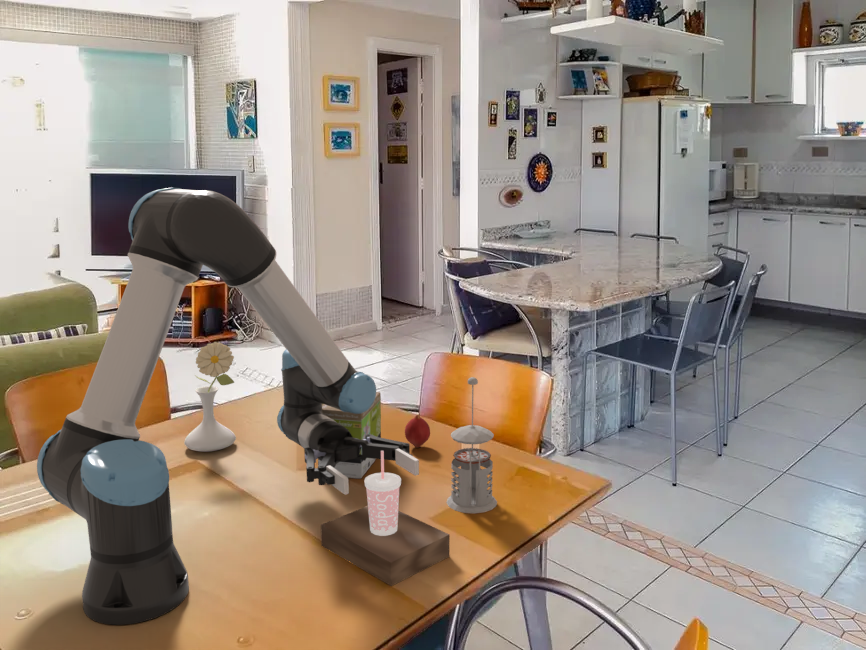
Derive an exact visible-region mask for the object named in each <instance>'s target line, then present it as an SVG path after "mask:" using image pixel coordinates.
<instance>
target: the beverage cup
mask: <svg viewBox="0 0 866 650" xmlns="http://www.w3.org/2000/svg"><path fill="white" fill-rule="evenodd" d="M380 470H381V471H380V472H375V473H372V474H369V475H367V476H366V477H365V478H364V480H363V481H364V487H365V488H366V489H365V490H366V497H367V498H366V501H367V506H368V512H369V523H370V531H371V533H373V534H375V535H379V536H387V535H391V534H394V533H395V532H396V531H397V527H398V511H399V502H400V501H399V500H400V487H401V484H402V478H401V476H400V475H398V474H396V473H392V472H385V460H384V451H381V459H380Z"/></svg>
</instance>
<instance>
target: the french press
mask: <svg viewBox="0 0 866 650" xmlns="http://www.w3.org/2000/svg"><path fill="white" fill-rule="evenodd" d="M478 383H479V381H478V378H477V377H473V376H471V377H469V378H468V379H467V384H468V385H471V424H469V425H468V424H467V425H465V426H460V427H458V428H456V429H455V430H453V431H452V432H451V434H450V437H451V438H452V440H453V441H455V442H456V443H459V444H465V445H471V447H467V448H464V447H463V448H461V449H457V450H456V451H455V452H453V457H454V458H452V461H451V464H450V465H451V467H450V468H451V469H452V471H451V476H452V477H451V480H450V481H451V482H452V483H451V490H450V491H451V492H450V493H451V494H450V496H448V497H447V500H446V504H447V506H448V507H449V508H450V509H452V510H454V511H455V512H456V511H457V512H458V513H459V512H460V513H463V514H480V513H486V512H489V511H492V510H493V509H494V508H496V507H497V504H498V501H497V499H496V498H495V496H493V467H494V466H493V464H494V463H493V460H492V459H491V458H492V457H491V456H492V454H491V453H490V452H489V451H487V450H486V449H482V448H477V447H474V445H482V444H484V443H488V442H490V441H491V440H492V439H493V438H494V435H495V434H494V433H493V431H491V430H489V429H487V428H485V427H483V426H480V425H474V386H475V385H478ZM482 467H483V468H482ZM456 481H457V482H456ZM488 482H489V483H488Z"/></svg>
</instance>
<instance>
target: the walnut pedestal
mask: <svg viewBox="0 0 866 650" xmlns="http://www.w3.org/2000/svg"><path fill="white" fill-rule="evenodd" d="M320 538H321V539H320V540H321V547H322V546H323V548H324V549H325V550H327V551H329V550H330V552H331V553H333V554H335V555H336V554H337V555H336V556H338V555H339V556H338V557H340V558H342V559H343V558H344V560H345V559H346V560H345V561H347V560H348V561H347V562H349V561H350V562H351V563H350V562H349V563H350V564H352V563H353V564H352V565H354V566H355V565H356V566H355V567H358V569H359V568H360V569H361V570H363V571H364V572H366V573H368V574H369V575H372V576H373V577H375V578H377V579H378V580H380V581H382V582H383V583H384V584H386V585H389V587H392V586H394V585H396V584H398V583H400V582H402V581H403V580H406V579H408V578H410V577H412V576H414V575H416V574H417V573H420V572H422V571H424V570H426V569H427V568H430V567H431V566H434V565H436V564H438V563H439V562H442V561H443V560H445V559H447V558H449V557H450V534H449V533H448V532H445V531H443V530H440V529H438V528H437V527H434V526H432V525H431V524H428V523H426V522H423V521H422V520H419V519H417V518H415V517H413V516H412V515H409V514H406V513H404V512H402V511H400V510H398V527H397V531H396V532H395V533H394V534H391V535H387V536H379V535H375V534H373V533H371V531H370V523H369V512H368V505H365V506H363V507H361V508H359V509H356V510H354V511H351V512H348V513H345V514H343V515H341V516H339V517H336V518H334V519H331V520H328V521H327V522H324V523H321V524H320Z"/></svg>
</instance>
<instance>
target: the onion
mask: <svg viewBox="0 0 866 650" xmlns="http://www.w3.org/2000/svg"><path fill="white" fill-rule="evenodd" d="M430 436H431V428H430V425H429V423H428V422H427V421H426V420H425V419H424V418H422V417H421V415H420V414H418V413H417V414H415V416H414V417H412V418H411V419H410V420H408V422H407V423H406V424H405V427H404V437H405V439H406V440H407V442H409V444H411V445H412V446H414V448H417V449H418V448H421V447H422V446H423V445H424V444H425V443H426V442H427V441H428V440H429V439H430Z"/></svg>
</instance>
